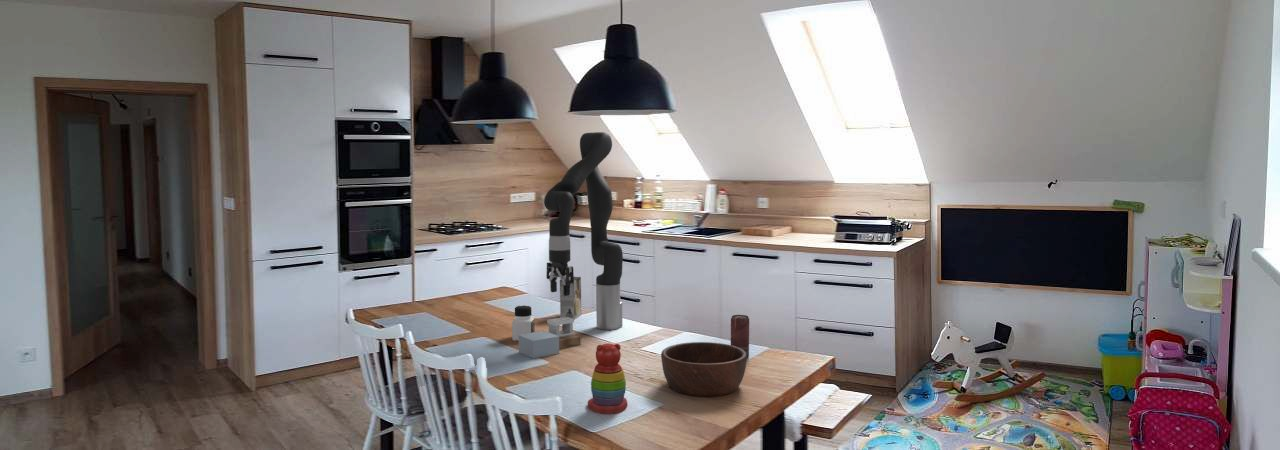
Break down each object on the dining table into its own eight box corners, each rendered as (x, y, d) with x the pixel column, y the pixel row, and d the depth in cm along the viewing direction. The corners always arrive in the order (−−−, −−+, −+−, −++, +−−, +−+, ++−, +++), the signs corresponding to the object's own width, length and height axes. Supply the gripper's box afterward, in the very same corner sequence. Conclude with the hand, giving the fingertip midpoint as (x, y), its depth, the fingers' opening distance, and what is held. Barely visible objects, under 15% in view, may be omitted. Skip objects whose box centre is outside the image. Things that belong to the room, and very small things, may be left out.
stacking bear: (625, 400, 217) (625, 338, 215) (631, 413, 207) (630, 347, 205) (586, 403, 215) (586, 339, 214) (590, 415, 206) (589, 349, 204)
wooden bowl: (693, 369, 247) (693, 337, 246) (762, 384, 232) (763, 350, 231) (643, 388, 228) (643, 354, 227) (715, 406, 213) (715, 369, 211)
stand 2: (565, 339, 285) (565, 331, 285) (580, 344, 277) (580, 336, 277) (541, 343, 279) (541, 335, 279) (556, 349, 271) (556, 341, 271)
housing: (566, 332, 282) (566, 316, 282) (574, 335, 278) (573, 319, 278) (547, 336, 277) (547, 319, 277) (554, 339, 273) (554, 322, 273)
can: (727, 358, 259) (727, 317, 257) (734, 354, 264) (734, 313, 263) (744, 361, 256) (745, 319, 254) (751, 356, 262) (751, 315, 260)
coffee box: (567, 314, 327) (566, 276, 326) (581, 314, 326) (581, 276, 324) (559, 318, 318) (559, 279, 317) (574, 319, 317) (574, 280, 315)
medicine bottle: (531, 340, 283) (531, 308, 282) (512, 340, 284) (511, 308, 282) (534, 335, 291) (534, 304, 289) (515, 335, 291) (515, 304, 289)
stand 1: (543, 347, 274) (543, 330, 273) (559, 353, 266) (559, 336, 265) (518, 352, 268) (518, 335, 267) (533, 358, 260) (533, 340, 259)
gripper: (579, 249, 271) (580, 295, 273) (557, 245, 283) (558, 289, 284) (561, 251, 267) (561, 298, 268) (539, 246, 278) (540, 291, 280)
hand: (560, 293), depth 276 cm, fingers open, 8 cm apart
